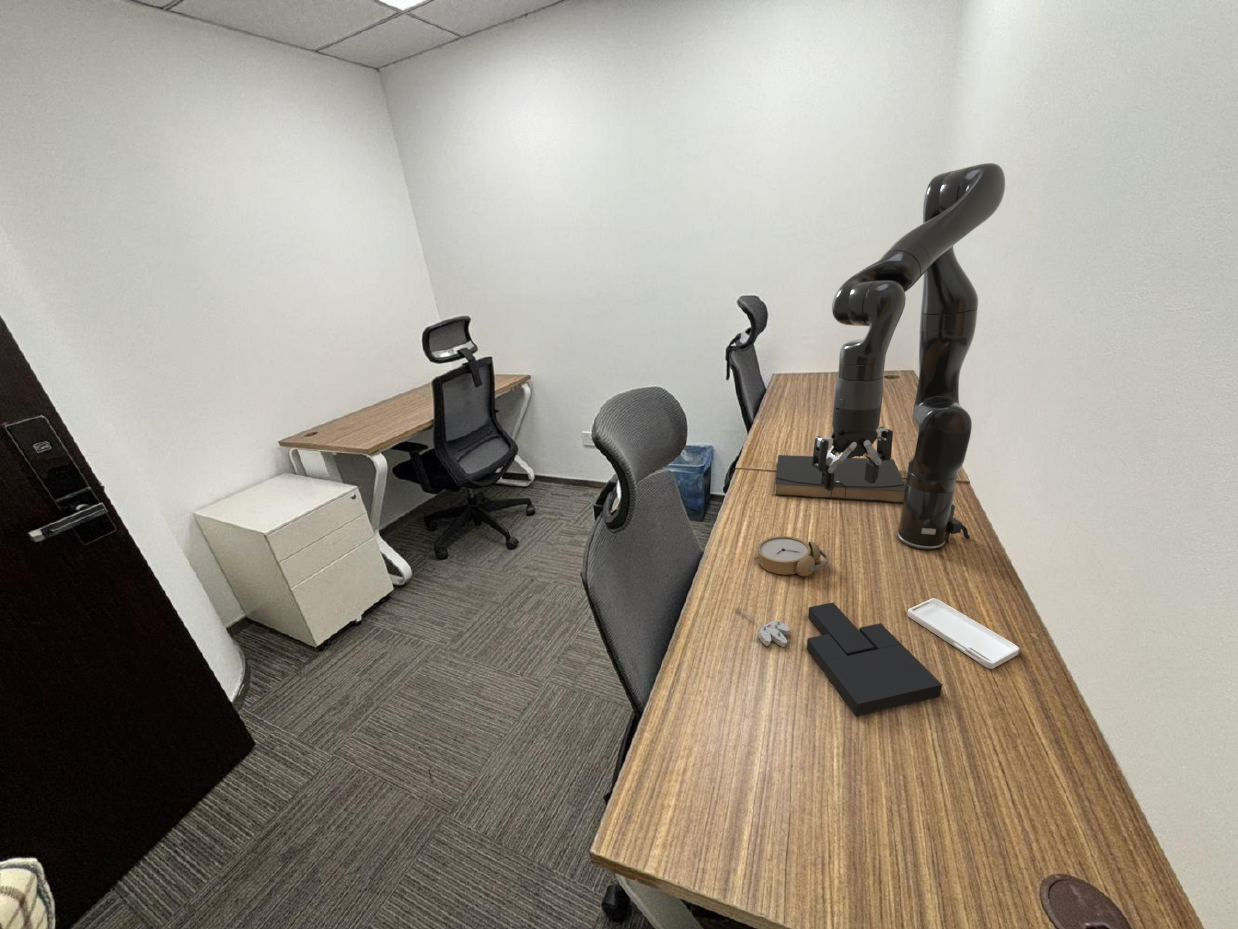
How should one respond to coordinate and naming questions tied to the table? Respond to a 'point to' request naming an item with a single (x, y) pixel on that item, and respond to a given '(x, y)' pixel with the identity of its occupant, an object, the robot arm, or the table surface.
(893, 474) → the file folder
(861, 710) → the notched pad
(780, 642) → the game controller
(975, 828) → the table surface
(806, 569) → the alarm clock
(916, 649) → the table surface
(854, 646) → the pad strip
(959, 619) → the phone case
